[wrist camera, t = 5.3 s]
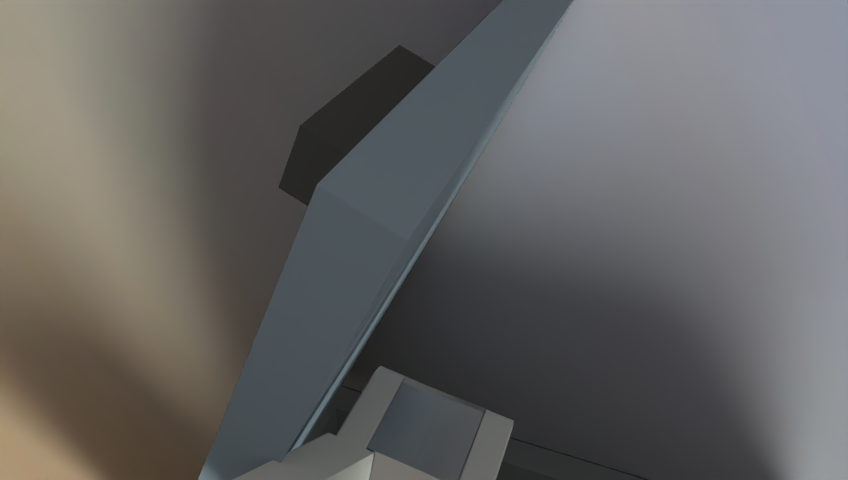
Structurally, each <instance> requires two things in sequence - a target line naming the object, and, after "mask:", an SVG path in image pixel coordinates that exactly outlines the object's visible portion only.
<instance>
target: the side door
mask: <svg viewBox="0 0 848 480" xmlns="http://www.w3.org/2000/svg"><path fill="white" fill-rule="evenodd" d="M572 2H573V0H503V1H502V2H501V3H500V4H499V5H498V6H497V7H496V8H495V9H494V10H493V11H492V12H491V13H490V14H489V15H488V16H487V17H486V18H485V19H484V20H483V21H482V22H481V23H480V24H479V25H478V26H477V27H476V28H475V29H474V30H473V31H472V32H471V33H470V34H468V35H467V36H466V37H465V38H464V39H463V40H462V41H461V42H460V43H459V44H458V45H457V46H456V47H455V48H454V49H453V50H452V51H451V52H450V53H449V54H448V55H447V56H446V57H445V58H444V59H443V60H442V61H441V62H440V63H439V64H438V65H437V66H436V67H435V66H433V65H432V64H430V63H428V62H427V61H425V60H423V59H422V58H420V57H419V56H417V55H415V54H414V53H412V52H410V51H409V50H407V49H405V48H404V47H402V46H401V45H399V46H398V47H397V48H395V49H394V50H393V51H392V52H391V53H389V54H388V55H387V56H386V57H384V58H383V59H382V60H381V61H379V62H378V63H377V64H376V65H374V66H373V67H372V68H371V69H370V70H368V71H367V72H366V73H365V74H363V75H362V76H361V77H360V78H358V79H357V80H356V81H355V82H354V83H352V84H351V85H350V86H349V87H347V88H346V89H345V90H344V91H342V92H341V93H340V94H339V95H337V96H336V97H335V98H334V99H333V100H331V101H330V102H329V103H328V104H326V105H325V106H324V107H323V108H321V109H320V110H319V111H318V112H316V113H315V114H314V115H313V116H312V117H310V118H309V119H308V120H307V121H305V122H304V123H303V124H302V125H300V128H299V131H298V134H297V137H296V140H295V142H294V145H293V148H292V151H291V154H290V157H289V159H288V162H287V165H286V168H285V171H284V174H283V176H282V179H281V182H280V185H279V188H280V189H282V190H283V191H285V192H286V193H288V194H290V195H291V196H293V197H295V198H296V199H298V200H299V201H301V202H303V203H304V204H306V205H307V206H308V208H307V210H306V213H305V215H304V218H303V220H302V223H301V225H300V228H299V230H298V233H297V235H296V238H295V240H294V243H293V245H292V248H291V250H290V253H289V255H288V257H287V260H286V262H285V265H284V267H283V270H282V272H281V275H280V277H279V280H278V282H277V285H276V287H275V290H274V292H273V295H272V297H271V300H270V302H269V305H268V307H267V310H266V312H265V315H264V317H263V320H262V322H261V324H260V327H259V329H258V332H257V334H256V337H255V339H254V342H253V344H252V347H251V349H250V352H249V354H248V357H247V359H246V362H245V364H244V367H243V369H242V372H241V374H240V377H239V379H238V382H237V384H236V387H235V389H234V392H233V394H232V396H231V399H230V401H229V404H228V406H227V409H226V411H225V414H224V416H223V419H222V421H221V424H220V426H219V429H218V431H217V434H216V436H215V439H214V441H213V444H212V446H211V449H210V451H209V454H208V456H207V459H206V461H205V463H204V466H203V468H202V471H201V473H200V476H199V478H198V480H233V479H235V478H237V477H239V476H241V475H243V474H245V473H247V472H249V471H251V470H253V469H255V468H258V467H260V466H262V465H264V464H266V463H268V462H270V461H272V460H275V461H277V462H279V463H281V461H282V460H283V458H284V457H285V455H286V454H287V453H288V452H290V451H292V450H294V449H296V448H298V447H300V446H302V445H304V443H305V441H306V440H307V438H308V437H309V435H310V434H311V432H312V430H313V429H314V427H315V426H316V424H317V423H318V421H319V419H320V418H321V416H322V415H323V413H324V411H325V410H326V408H327V407H328V405H329V404H330V402H331V400H332V399H333V397H334V396H335V394H336V393H337V391H338V389H339V388H340V386H341V385H342V383H343V381H344V380H345V378H346V376H347V375H348V373H349V371H350V370H351V368H352V366H353V365H354V363H355V361H356V360H357V358H358V357H359V355H360V353H361V352H362V350H363V348H364V347H365V345H366V343H367V342H368V340H369V338H370V337H371V335H372V333H373V332H374V330H375V328H376V327H377V325H378V323H379V322H380V320H381V318H382V317H383V315H384V313H385V312H386V310H387V308H388V307H389V305H390V304H391V302H392V300H393V299H394V297H395V295H396V294H397V292H398V290H399V289H400V287H401V285H402V284H403V282H404V280H405V279H406V277H407V275H408V274H409V272H410V270H411V269H412V267H413V265H414V264H415V262H416V260H417V259H418V257H419V255H420V254H421V252H422V250H423V249H424V247H425V246H426V244H427V242H428V241H429V239H430V237H431V236H432V234H433V232H434V231H435V229H436V227H437V226H438V224H439V222H440V221H441V219H442V217H443V216H444V214H445V212H446V211H447V209H448V207H449V206H450V204H451V202H452V201H453V199H454V197H455V196H456V194H457V193H458V191H459V189H460V188H461V186H462V184H463V183H464V181H465V179H466V178H467V176H468V174H469V173H470V171H471V169H472V168H473V166H474V164H475V163H476V161H477V159H478V158H479V156H480V154H481V153H482V151H483V149H484V148H485V146H486V144H487V143H488V141H489V140H490V138H491V136H492V135H493V133H494V131H495V130H496V128H497V126H498V125H499V123H500V121H501V120H502V118H503V116H504V115H505V113H506V111H507V110H508V108H509V106H510V105H511V103H512V101H513V100H514V98H515V96H516V95H517V93H518V91H519V90H520V88H521V86H522V85H523V83H524V82H525V80H526V78H527V77H528V75H529V73H530V72H531V70H532V68H533V67H534V65H535V63H536V62H537V60H538V58H539V57H540V55H541V53H542V52H543V50H544V48H545V47H546V45H547V43H548V42H549V40H550V38H551V37H552V35H553V33H554V32H555V30H556V29H557V27H558V25H559V24H560V22H561V20H562V19H563V17H564V15H565V14H566V12H567V10H568V9H569V7H570V5H571V4H572Z"/></svg>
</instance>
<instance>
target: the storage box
mask: <svg viewBox="0 0 848 480" xmlns="http://www.w3.org/2000/svg"><path fill="white" fill-rule="evenodd" d="M360 395H361V392H357V391H354V390H351V389H347V388H344V387H341V386H340V388H339V389H338V391H337V393H336V394H335V396H334V397H333V399H332V400H331V402H330V404H329V405H328V407H327V408H326V410H325V411H324V413H323V415H322V416H321V418H320V419H319V421H318V423H317V424H316V426H315V427H314V429H313V430H312V432H311V434H310V435H309V437H308V438H307V440H306V441H305V443H304V444H306V443H308V442H310V441H312V440H314V439H316V438H318V437H320V436H322V435H324V434H326V433H331V434H333V435H337V433H338V431H339V430H340V428H341V426H342V425H343V423H344V421H345V420H346V418H347V416H348V415H349V413H350V411H351V410H352V408H353V406H354V405H355V403H356V401H357V400H358V398H359V396H360ZM496 480H645V479H642V478H639V477H635V476H632V475H629V474H626V473H622V472H619V471H616V470H612V469H609V468H606V467H603V466H599V465H596V464H593V463H590V462H586V461H583V460H580V459H576V458H573V457H570V456H567V455H563V454H560V453H557V452H554V451H550V450H547V449H544V448H540V447H537V446H534V445H531V444H527V443H524V442H521V441H518V440H514V439H511V438H509V441H508V444H507V447H506V450H505V453H504V456H503V459H502V462H501V466H500V469H499V472H498V475H497V478H496Z"/></svg>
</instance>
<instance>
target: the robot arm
mask: <svg viewBox="0 0 848 480" xmlns="http://www.w3.org/2000/svg"><path fill="white" fill-rule="evenodd" d="M485 409H486V408H483V407H481V406H478V405H476V404H473V403H470V402H468V401H465V400H463V399H460V398H458V397H455V396H453V395H450V394H448V393H445V392H442V391H440V390H437V389H435V388H431V387H429V386H427V385H425V384H422V383H420V382H418V381H415V380H413V379H411V378H409V377H406V376H404V375H401V374H399V373H397V372H394V371H392V370H390V369H387V368H385V367H382V366H380V367H379V368H377V369H376V370H375V371H374V373H373V374H372V376H371V378H370V380H369V381H368V383H367V385H366V386H365V388H364V390H363V391H362V393H361V395H360V396H359V398H358V400H357V401H356V403H355V405H354V406H353V408H352V410H351V411H350V413H349V415H348V416H347V418H346V420H345V421H344V423H343V425H342V426H341V428H340V430H339V431H338V433H337V435H333V434H331V433H326V434H324V435H322V436H320V437H318V438H316V439H314V440H312V441H310V442H308V443H306V444H304V445H302V446H300V447H298V448H296V449H294V450H292V451H290V452H288V453H287V454H286V455H285V457H284V458H283V460H282V461H281V463H279V462H277V461H275V460H272V461H270V462H268V463H266V464H264V465H262V466H260V467H258V468H255V469H253V470H251V471H249V472H247V473H245V474H243V475H241V476H239V477H237V478H235V479H233V480H496V478H497V475H498V472H499V469H500V466H501V462H502V459H503V456H504V453H505V450H506V447H507V444H508V441H509V438H510V435H511V432H512V429H513V425H514V420H511V419H509V418H506V417H504V416H501V415H499V414H496V413H494V412H491V411H489V410H486V411H485ZM482 418H483V419H482ZM481 421H482V422H481Z"/></svg>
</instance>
